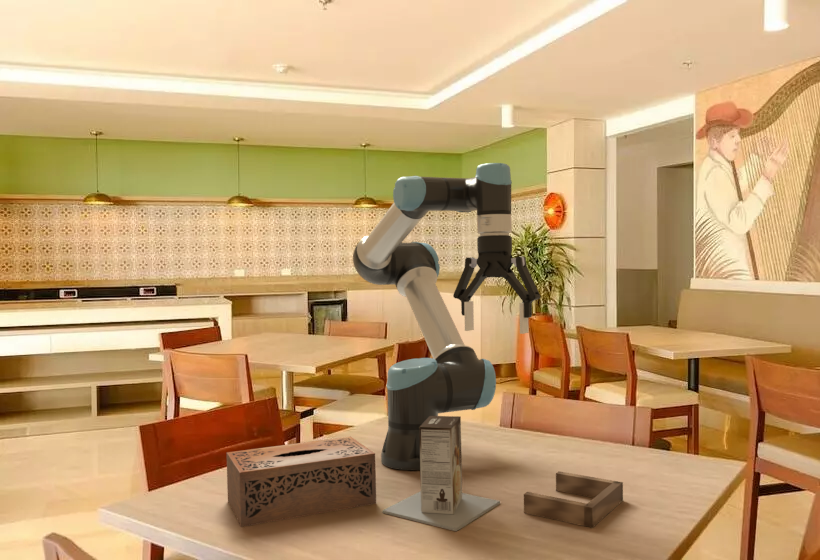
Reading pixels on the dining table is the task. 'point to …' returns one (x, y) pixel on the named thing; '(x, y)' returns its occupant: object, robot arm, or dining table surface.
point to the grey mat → (463, 515)
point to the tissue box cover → (300, 479)
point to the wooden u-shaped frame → (575, 512)
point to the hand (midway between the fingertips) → (496, 331)
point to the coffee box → (440, 464)
